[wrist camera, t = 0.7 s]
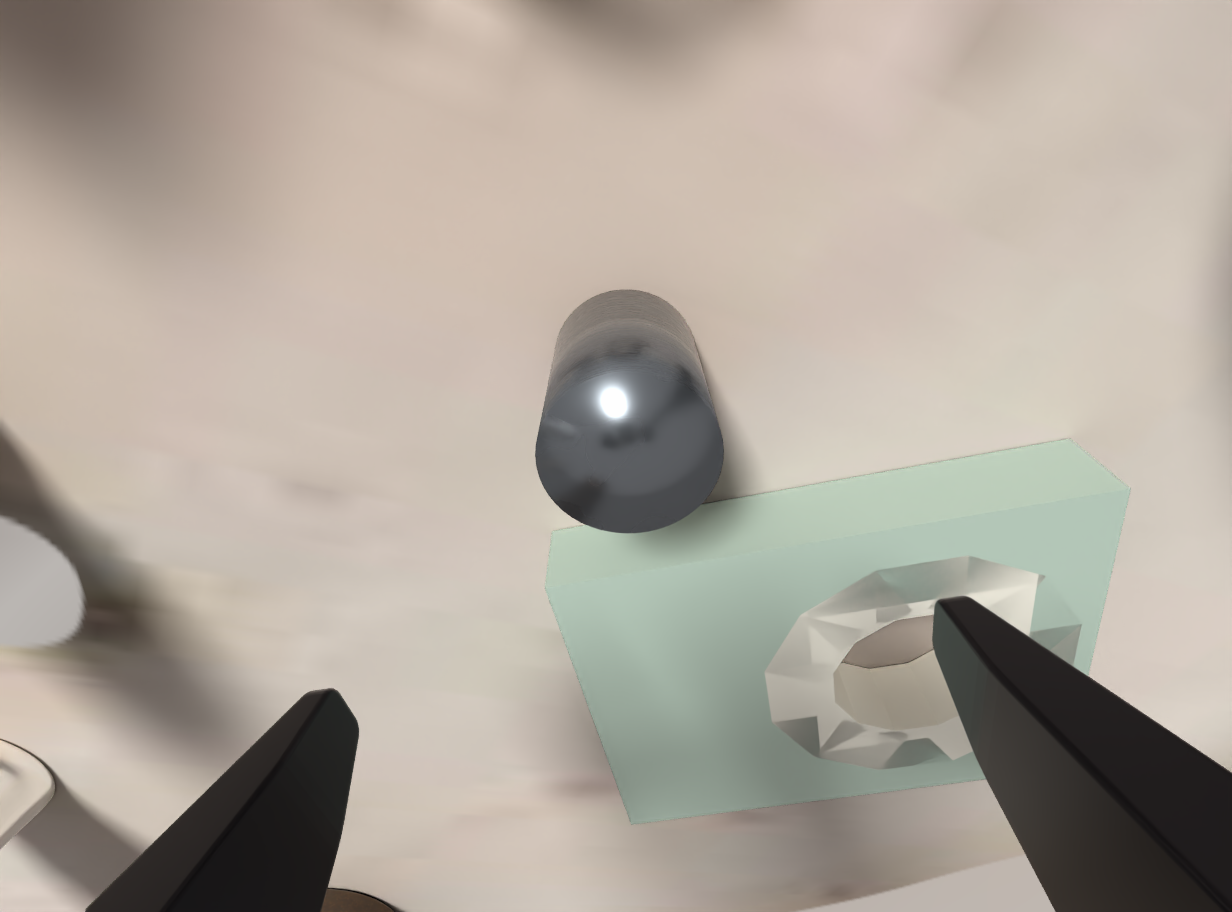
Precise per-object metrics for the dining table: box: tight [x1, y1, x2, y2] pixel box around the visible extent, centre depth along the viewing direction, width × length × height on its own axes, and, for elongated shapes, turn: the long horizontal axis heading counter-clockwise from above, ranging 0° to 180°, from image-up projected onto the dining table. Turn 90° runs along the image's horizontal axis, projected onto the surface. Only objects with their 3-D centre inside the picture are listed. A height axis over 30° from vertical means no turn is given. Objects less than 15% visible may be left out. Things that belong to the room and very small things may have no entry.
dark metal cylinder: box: [535, 290, 724, 533], centre depth 18 cm, size 4×4×6 cm
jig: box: [545, 439, 1131, 825], centre depth 25 cm, size 18×14×3 cm
